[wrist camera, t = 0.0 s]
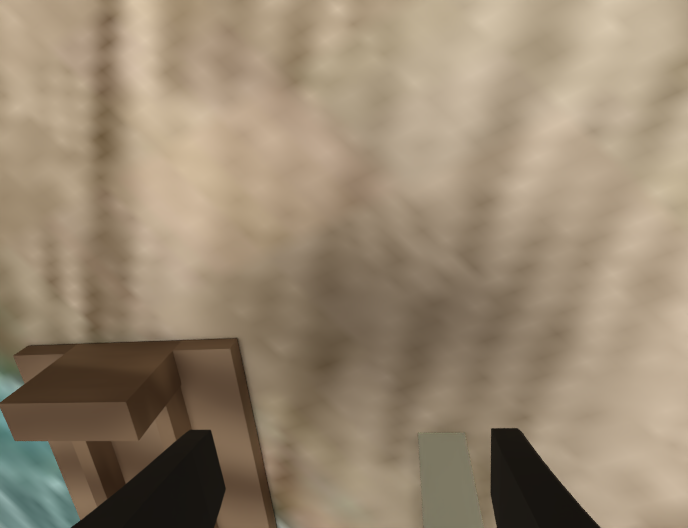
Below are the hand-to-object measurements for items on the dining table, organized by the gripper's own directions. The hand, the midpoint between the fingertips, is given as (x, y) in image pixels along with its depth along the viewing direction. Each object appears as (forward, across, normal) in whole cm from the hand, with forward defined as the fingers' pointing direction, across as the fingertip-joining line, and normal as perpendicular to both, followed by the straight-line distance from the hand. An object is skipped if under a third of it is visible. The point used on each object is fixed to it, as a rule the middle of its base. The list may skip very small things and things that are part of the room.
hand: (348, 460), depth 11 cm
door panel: (+10, -3, +12) cm, 16 cm away
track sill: (+10, +13, +10) cm, 19 cm away
